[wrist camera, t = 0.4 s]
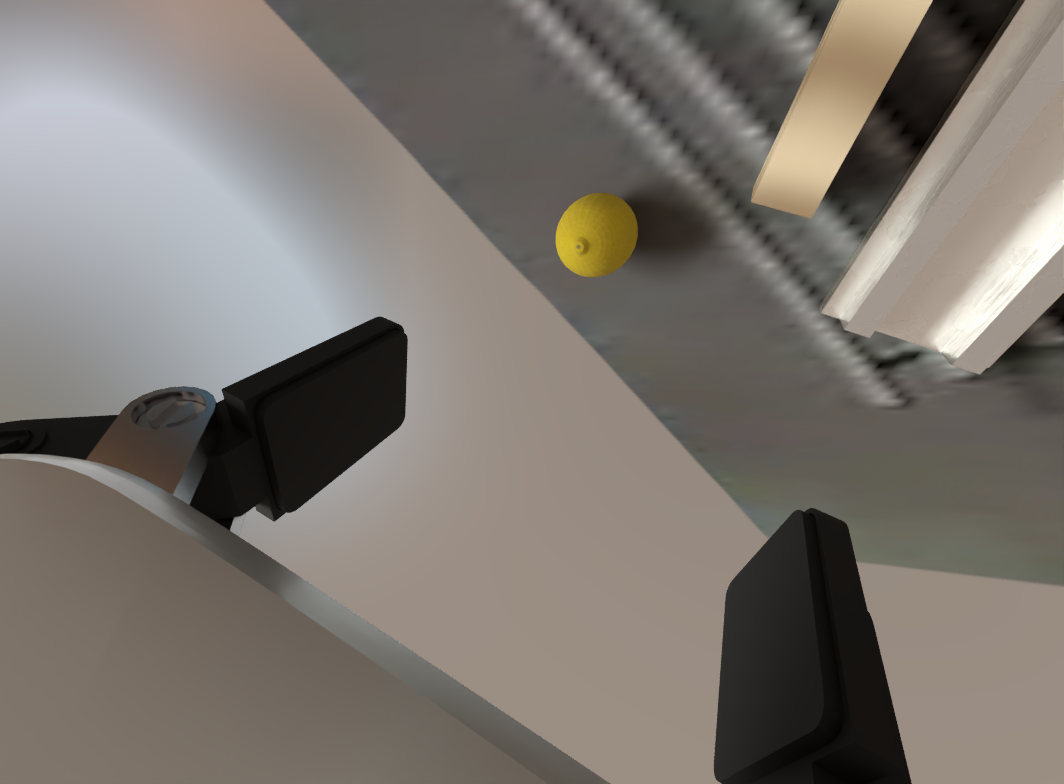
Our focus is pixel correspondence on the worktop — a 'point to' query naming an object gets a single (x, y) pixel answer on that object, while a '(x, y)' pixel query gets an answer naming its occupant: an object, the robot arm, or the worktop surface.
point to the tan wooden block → (835, 100)
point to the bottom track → (974, 209)
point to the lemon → (596, 235)
